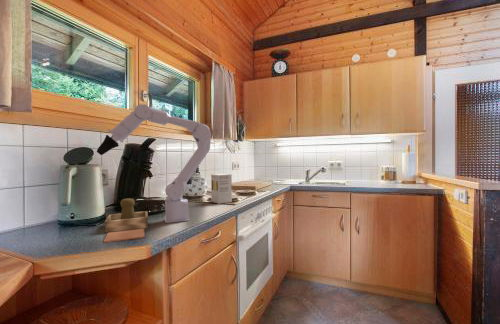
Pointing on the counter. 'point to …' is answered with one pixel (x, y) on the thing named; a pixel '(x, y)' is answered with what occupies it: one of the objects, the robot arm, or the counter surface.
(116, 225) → the birch box
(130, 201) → the cork
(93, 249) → the counter surface
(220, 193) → the supplement box
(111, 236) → the terracotta tile
